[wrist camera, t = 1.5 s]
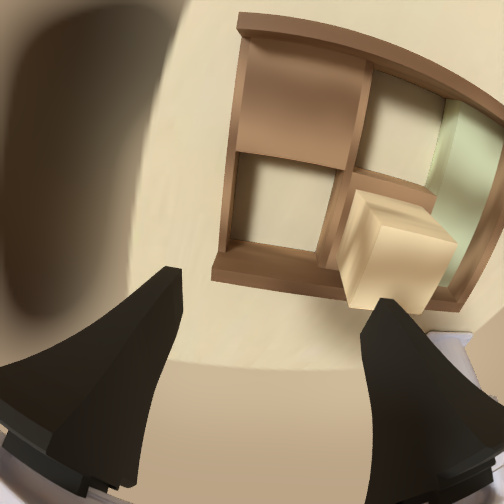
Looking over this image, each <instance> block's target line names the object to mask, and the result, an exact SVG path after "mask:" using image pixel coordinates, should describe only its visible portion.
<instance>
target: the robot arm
mask: <svg viewBox="0 0 504 504" xmlns="http://www.w3.org/2000/svg"><path fill="white" fill-rule="evenodd" d="M182 314H183V293H182V269H179V268H174V267H168V266H165V267H163V268H162V269H161V270H160V271H158V272H157V273H156V274H155V275H154V276H152V277H151V278H150V279H149V280H148V281H147V282H145V283H144V284H143V285H142V286H141V287H140V288H138V289H137V290H136V291H135V292H133V293H132V294H131V295H130V296H129V297H127V298H126V299H125V300H124V301H123V302H121V303H120V304H119V305H117V306H116V307H115V308H113V309H112V310H111V311H109V312H108V313H107V314H106V315H104V316H103V317H101V318H100V319H98V320H97V321H96V322H94V323H93V324H91V325H90V326H88V327H86V328H85V329H83V330H82V331H80V332H78V333H77V334H75V335H73V336H71V337H69V338H68V339H66V340H64V341H62V342H60V343H58V344H56V345H55V346H53V347H51V348H49V349H47V350H44V351H42V352H40V353H38V354H35V355H33V356H30V357H28V358H26V359H23V360H20V361H18V362H14V363H11V364H8V365H5V366H2V367H0V423H1V424H2V425H3V426H4V427H6V428H7V429H8V433H7V435H6V434H4V433H3V432H2V431H1V430H0V504H133V503H130V502H127V501H125V500H122V499H119V498H116V497H114V496H112V495H109V494H107V491H108V487H109V488H112V489H114V490H118V489H119V486H120V485H121V486H123V487H126V488H130V487H133V486H135V485H136V484H137V476H138V467H139V460H140V454H141V447H142V442H143V437H144V432H145V427H146V423H147V418H148V414H149V410H150V406H151V402H152V398H153V394H154V391H155V388H156V385H157V383H158V380H159V378H160V375H161V373H162V370H163V368H164V365H165V363H166V360H167V358H168V355H169V353H170V350H171V348H172V345H173V343H174V340H175V338H176V335H177V332H178V329H179V325H180V321H181V318H182ZM472 337H473V334H472V333H471V332H429V333H427V334H425V333H424V332H423V331H422V330H421V328H420V327H419V326H418V325H417V324H416V323H415V322H414V320H413V319H412V318H411V317H410V316H409V315H408V313H407V312H406V311H405V310H404V309H403V308H402V307H401V306H400V305H399V304H398V303H397V302H396V301H395V300H394V299H389V298H380V299H379V301H378V303H377V304H376V306H375V308H374V310H373V312H372V314H371V316H370V318H369V319H368V321H367V323H366V325H365V327H364V328H363V330H362V332H361V334H360V341H361V354H362V361H363V366H364V371H365V376H366V381H367V386H368V392H369V397H370V403H371V410H372V422H373V449H372V464H371V473H370V480H369V486H368V491H367V496H366V500H365V504H504V406H503V405H501V404H500V403H498V400H497V397H495V396H492V395H489V396H488V395H487V394H486V393H484V392H483V391H482V390H481V387H480V384H479V382H478V379H477V377H476V374H475V372H474V370H473V367H472V365H471V363H470V360H469V358H468V356H467V354H466V351H465V349H464V347H465V346H466V345H467V343H468V342H469V341H470V339H471V338H472Z"/></svg>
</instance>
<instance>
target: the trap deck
mask: <svg viewBox="0 0 504 504" xmlns="http://www.w3.org/2000/svg"><path fill="white" fill-rule="evenodd" d="M236 29H237V30H238V32H239V33H240V35H241V36H242V38H241V45H240V52H239V59H238V66H237V73H236V80H235V88H234V96H233V104H232V112H231V120H230V129H229V138H228V147H227V156H226V166H225V176H224V186H223V197H222V208H221V220H220V232H219V246H218V253H217V256H216V258H215V261H214V264H213V266H212V274H211V281H217V282H223V283H229V284H235V285H241V286H247V287H253V288H259V289H266V290H272V291H279V292H286V293H292V294H299V295H306V296H314V297H321V298H328V299H336V300H344V301H347V298H346V294H345V290H344V286H343V283H342V279H341V275H340V271H339V268H338V264H337V261H336V255H337V252H338V249H339V246H340V243H341V240H342V236H343V233H344V230H345V227H346V223H347V220H348V217H349V213H350V210H351V206H352V203H353V199H354V196H355V192H356V189H357V190H361V191H365V192H370V193H374V194H378V195H382V196H385V197H389V198H393V199H397V200H400V201H404V202H408V203H411V204H415V205H418V206H422V207H423V208H424V209H425V210H426V211H427V212H428V213H429V214H430V215H431V216H432V217H433V218H434V219H435V220H436V221H437V222H438V223H439V224H440V225H441V226H442V227H443V228H444V229H445V230H446V231H447V232H448V233H449V234H450V236H451V237H452V238H453V239H454V240H455V241H456V242H457V243H458V246H457V248H456V250H455V252H454V255H453V257H452V259H451V261H450V263H449V265H448V267H447V269H446V271H445V273H444V275H443V277H442V279H441V280H440V282H439V284H438V286H437V288H436V290H435V291H434V293H433V295H432V297H431V298H430V300H429V302H428V304H427V305H426V307H425V310H435V311H447V312H459V311H460V310H461V308H462V307H463V305H464V304H465V302H466V300H467V299H468V297H469V295H470V294H471V292H472V290H473V289H474V287H475V285H476V283H477V282H478V280H479V278H480V276H481V274H482V272H483V270H484V269H485V267H486V265H487V263H488V261H489V259H490V257H491V255H492V252H493V250H494V248H495V246H496V244H497V242H498V239H499V237H500V235H501V233H502V230H503V228H504V105H503V104H501V103H500V102H499V101H497V100H496V99H494V98H493V97H492V96H490V95H489V94H487V93H486V92H484V91H483V90H481V89H480V88H478V87H477V86H475V85H474V84H472V83H470V82H469V81H467V80H465V79H464V78H462V77H460V76H459V75H457V74H455V73H453V72H452V71H450V70H448V69H446V68H444V67H442V66H440V65H438V64H436V63H434V62H432V61H430V60H428V59H426V58H424V57H422V56H420V55H418V54H415V53H413V52H411V51H409V50H406V49H404V48H401V47H399V46H396V45H394V44H391V43H389V42H386V41H383V40H380V39H377V38H375V37H372V36H369V35H365V34H362V33H359V32H356V31H352V30H349V29H345V28H341V27H337V26H333V25H329V24H325V23H320V22H315V21H310V20H305V19H299V18H293V17H287V16H280V15H271V14H261V13H249V12H239V15H238V21H237V27H236ZM373 69H376V70H379V71H382V72H385V73H387V74H390V75H393V76H395V77H398V78H401V79H403V80H406V81H408V82H411V83H413V84H415V85H418V86H420V87H422V88H425V89H427V90H429V91H431V92H433V93H435V94H437V95H439V96H441V97H443V98H445V99H446V103H445V108H444V113H443V119H442V123H441V128H440V133H439V137H438V141H437V145H436V149H435V153H434V157H433V161H432V164H431V168H430V171H429V175H428V178H427V181H426V185H425V187H424V186H421V185H418V184H415V183H411V182H408V181H405V180H402V179H398V178H395V177H391V176H388V175H384V174H381V173H377V172H373V171H370V170H366V169H362V168H358V167H354V164H355V160H356V156H357V152H358V147H359V143H360V138H361V134H362V129H363V124H364V119H365V114H366V109H367V104H368V98H369V93H370V87H371V81H372V75H373ZM239 152H246V153H254V154H260V155H267V156H273V157H280V158H285V159H291V160H297V161H302V162H307V163H312V164H317V165H322V166H327V167H332V168H336V169H337V171H336V175H335V179H334V184H333V188H332V192H331V196H330V200H329V204H328V208H327V212H326V216H325V219H324V223H323V227H322V231H321V234H320V238H319V242H318V245H317V249H316V252H310V251H304V250H298V249H292V248H286V247H279V246H273V245H267V244H261V243H255V242H248V241H242V240H236V239H230V233H231V224H232V214H233V205H234V195H235V186H236V178H237V169H238V160H239Z"/></svg>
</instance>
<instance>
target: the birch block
mask: <svg viewBox="0 0 504 504" xmlns="http://www.w3.org/2000/svg"><path fill="white" fill-rule="evenodd" d="M457 246H458V243H457V242H456V241H455V240H454V239H453V238H452V237H451V236H450V234H449V233H448V232H447V231H446V230H445V229H444V228H443V227H442V226H441V225H440V224H439V223H438V222H437V221H436V220H435V219H434V218H433V217H432V216H431V215H430V214H429V213H428V212H427V211H426V210H425V209H424V208H423V207H422V206H418V205H415V204H411V203H408V202H404V201H400V200H397V199H393V198H389V197H385V196H382V195H378V194H374V193H370V192H365V191H361V190H357V189H356V192H355V196H354V199H353V203H352V206H351V210H350V213H349V217H348V220H347V223H346V227H345V230H344V233H343V236H342V240H341V243H340V246H339V249H338V252H337V255H336V261H337V264H338V268H339V271H340V275H341V279H342V283H343V286H344V290H345V294H346V298H347V302H348V306H349V308H358V309H367V310H374V308H375V306H376V304H377V303H378V301H379V299H380V298H389V299H394V300H395V301H396V302H397V303H398V304H399V305H400V306H401V307H402V308H403V309H404V310H405V311H406V312H407V313H408V314H417V315H421V314H422V312H423V310H424V309H425V307H426V305H427V304H428V302H429V300H430V298H431V297H432V295H433V293H434V291H435V290H436V288H437V286H438V284H439V282H440V280H441V279H442V277H443V275H444V273H445V271H446V269H447V267H448V265H449V263H450V261H451V259H452V257H453V255H454V252H455V250H456V248H457Z"/></svg>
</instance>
